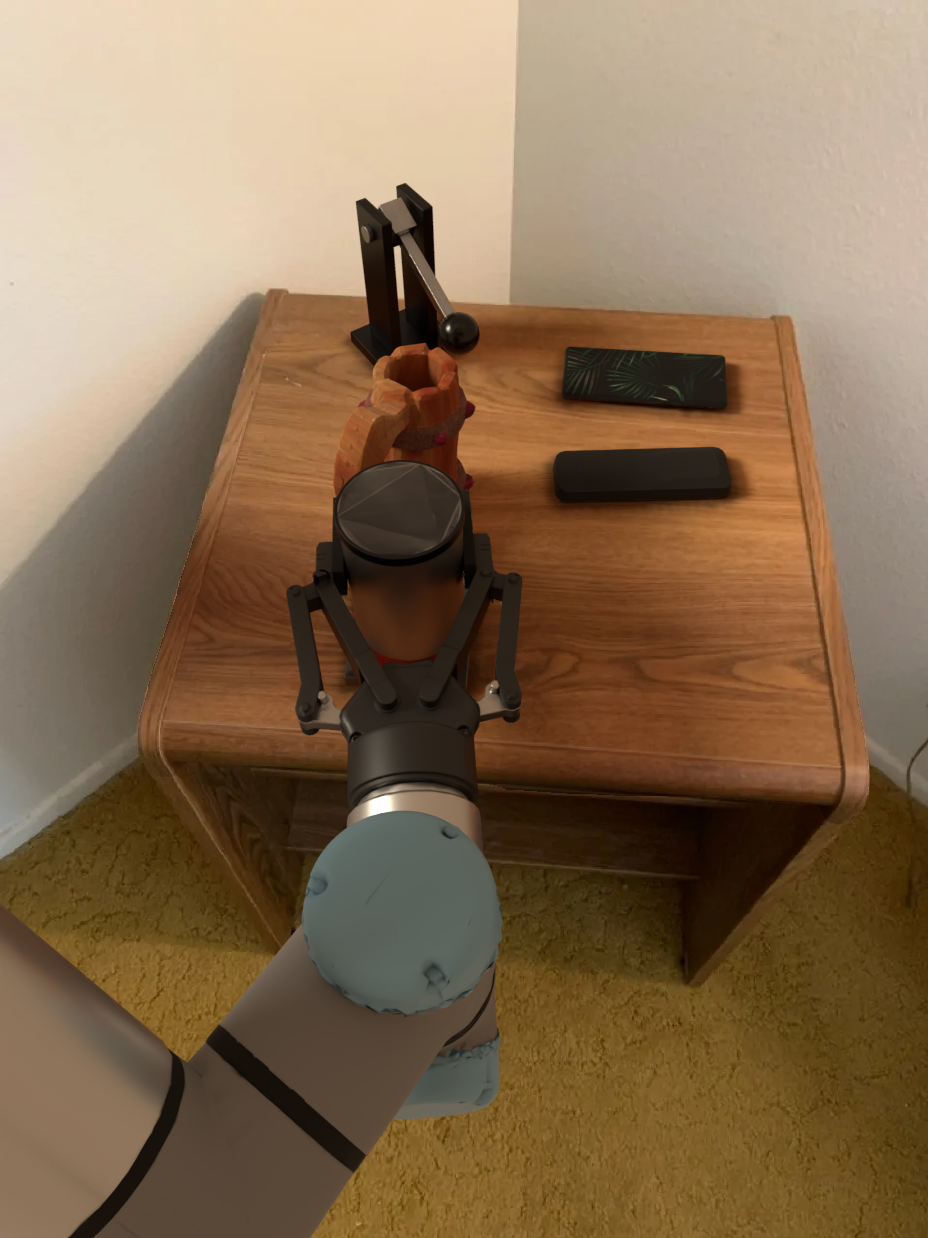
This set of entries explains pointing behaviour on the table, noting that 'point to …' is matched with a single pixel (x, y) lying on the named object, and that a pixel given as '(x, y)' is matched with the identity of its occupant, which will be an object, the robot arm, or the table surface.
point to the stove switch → (395, 281)
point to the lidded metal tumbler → (403, 555)
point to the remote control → (641, 474)
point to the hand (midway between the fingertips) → (402, 506)
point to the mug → (407, 416)
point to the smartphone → (645, 377)
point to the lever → (431, 284)
